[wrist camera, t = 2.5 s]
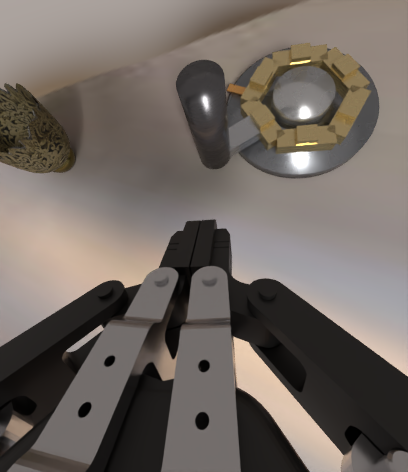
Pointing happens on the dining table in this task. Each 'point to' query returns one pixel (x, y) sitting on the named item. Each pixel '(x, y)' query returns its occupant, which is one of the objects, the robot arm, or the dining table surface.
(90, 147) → the dining table surface
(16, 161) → the cup
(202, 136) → the golden ring with handle
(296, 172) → the steel flange
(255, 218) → the dining table surface
